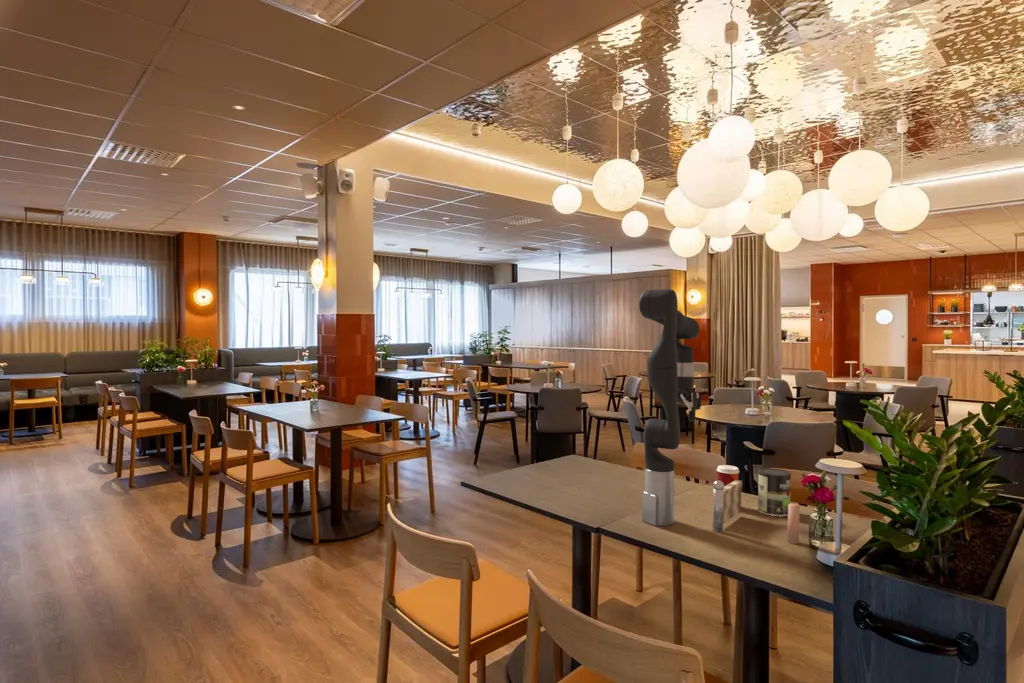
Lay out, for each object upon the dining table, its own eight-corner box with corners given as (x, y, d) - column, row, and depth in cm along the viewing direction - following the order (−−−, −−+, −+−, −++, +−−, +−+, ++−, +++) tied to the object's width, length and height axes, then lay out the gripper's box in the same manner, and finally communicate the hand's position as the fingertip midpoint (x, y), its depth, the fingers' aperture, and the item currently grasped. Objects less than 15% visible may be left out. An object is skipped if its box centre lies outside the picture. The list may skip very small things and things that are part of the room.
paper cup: (740, 510, 194) (741, 470, 194) (717, 509, 195) (718, 469, 195) (736, 503, 202) (737, 465, 201) (714, 502, 203) (714, 463, 203)
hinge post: (718, 533, 172) (719, 482, 171) (709, 529, 175) (710, 479, 174) (725, 531, 173) (726, 481, 173) (716, 528, 176) (717, 478, 176)
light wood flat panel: (723, 524, 175) (724, 491, 175) (717, 523, 176) (717, 490, 176) (741, 512, 188) (742, 480, 188) (735, 510, 189) (736, 479, 189)
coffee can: (796, 513, 191) (797, 472, 191) (780, 519, 185) (781, 477, 185) (767, 505, 200) (768, 466, 199) (751, 510, 194) (752, 470, 193)
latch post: (794, 544, 163) (795, 507, 163) (785, 541, 166) (786, 504, 165) (801, 542, 165) (801, 505, 164) (791, 539, 167) (792, 503, 167)
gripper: (706, 376, 198) (705, 421, 198) (675, 373, 210) (675, 416, 210) (690, 376, 194) (690, 423, 194) (661, 373, 206) (660, 417, 207)
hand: (682, 419), depth 202 cm, fingers open, 8 cm apart
